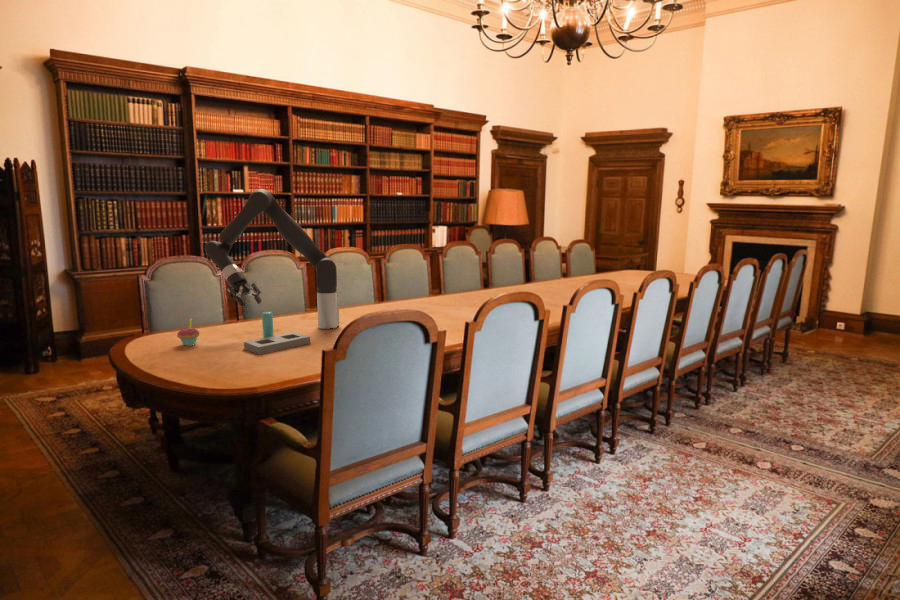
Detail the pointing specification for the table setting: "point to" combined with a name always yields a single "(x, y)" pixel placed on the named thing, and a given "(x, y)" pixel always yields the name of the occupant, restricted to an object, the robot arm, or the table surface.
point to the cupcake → (188, 335)
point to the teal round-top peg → (267, 324)
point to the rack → (276, 342)
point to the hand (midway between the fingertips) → (252, 304)
